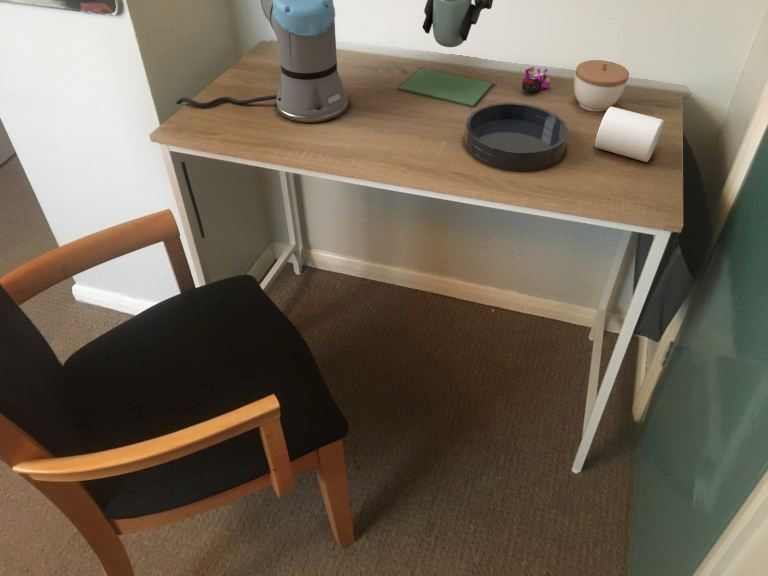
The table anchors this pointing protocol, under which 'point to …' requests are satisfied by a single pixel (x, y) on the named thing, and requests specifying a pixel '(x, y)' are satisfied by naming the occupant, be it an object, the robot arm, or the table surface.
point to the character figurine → (534, 80)
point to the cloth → (446, 86)
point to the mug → (629, 133)
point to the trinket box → (599, 84)
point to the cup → (449, 21)
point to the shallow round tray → (515, 136)
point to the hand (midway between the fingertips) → (444, 33)
